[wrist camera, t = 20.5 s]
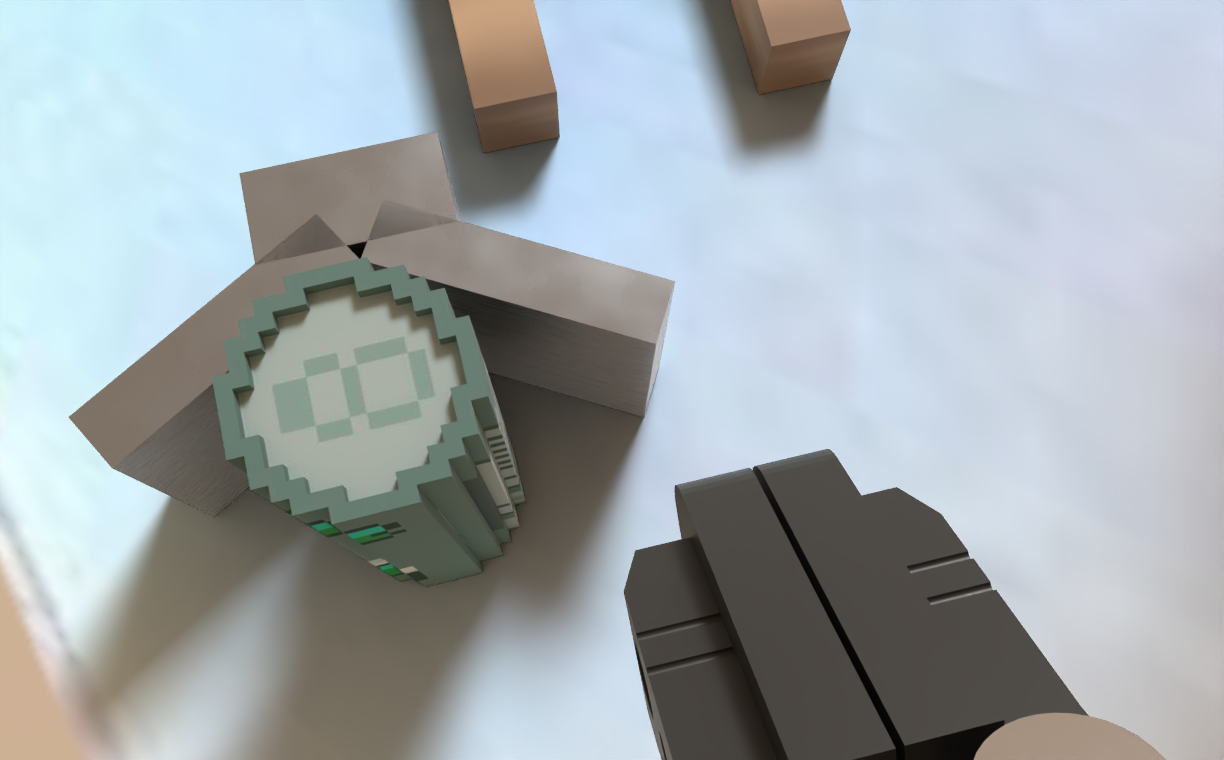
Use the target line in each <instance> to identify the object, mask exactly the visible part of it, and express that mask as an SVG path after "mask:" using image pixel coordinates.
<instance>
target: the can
mask: <svg viewBox="0 0 1224 760" xmlns="http://www.w3.org/2000/svg"><path fill="white" fill-rule="evenodd" d="M283 280H284V285H285V290H286V292H284V293H280V294H276V295H272V296H267V297H263V298H259V299H255V300H252V304H253V309H254V314H255V316H253V317H248V318H244V319H240V320H238V325H239V330H240V335H241V336H239V337H234V338H230V339H226V340H223V341H224V347H225V352H226V358H227V363H228V369H229V373H225V374H221V375H217V376H213V377H212V381H213V387H214V393H215V398H216V404H217V410H218V415H219V421H220V427H221V432H222V438H223V444H224V450H225V455H226V460H227V461H228V462H230V463H231V464H233V465H235V466H236V467H238V468H239V469H241V470H242V471H244V472H245V473H247V475H248V480H249V486H250V490H251V491H253V492H254V493H256V494H258V495H259V496H261V497H262V498H264V499H266V500H267V501H269V502H271V503H272V504H274V505H275V506H277V507H279V508H280V509H282V510H284V511H285V512H287V513H289V514H290V515H292V516H293V517H295V518H297V519H298V520H300V521H302V522H303V523H305V524H307V525H308V526H310V527H312V528H313V529H315V530H316V531H318V532H320V533H321V534H323V535H325V536H326V537H328V538H330V539H331V540H333V541H335V542H336V543H338V544H339V545H341V546H343V547H344V548H346V549H348V550H349V551H351V552H353V553H354V554H356V555H358V556H359V557H361V558H362V559H364V560H366V561H367V562H369V563H371V564H372V565H374V566H376V567H377V568H379V569H381V570H382V571H384V572H385V573H387V574H389V575H390V576H392V577H394V578H395V579H397V580H399V581H400V582H401V581H405V580H409V579H414V580H416V581H417V582H419V583H420V584H422V585H423V586H425V587H429V586H433V585H437V584H440V583H444V582H448V581H452V580H456V579H460V578H464V577H468V576H472V575H476V574H479V573H483V571H482V566H481V562H480V561H483V560H487V559H491V558H495V557H499V556H503V554H502V549H501V545H500V544H503V543H507V542H511V537H510V533H509V530H512V529H516V528H520V525H519V520H518V516H517V512H516V508H515V505H518V504H522V503H526V500H525V496H524V492H523V488H522V484H521V479H520V475H519V471H518V467H517V463H516V459H515V455H514V450H513V447H512V444H511V441H510V438H509V435H508V432H507V429H506V426H505V423H504V420H503V417H502V414H501V411H500V408H499V405H498V401H497V398H496V395H495V392H494V389H493V386H492V383H491V380H490V377H489V374H488V371H487V368H486V365H485V362H484V359H483V356H482V353H481V350H480V347H479V344H478V341H477V338H476V335H475V332H474V329H473V326H472V323H471V320H470V317H469V315H468V316H464V317H459V318H456V317H455V314H454V312H453V309H452V306H451V304H450V301H449V298H448V295H447V293H446V290H445V288H441V289H437V290H433V291H430V289H429V286H428V284H427V282H426V279H425V277H424V276H422V277H418V278H414V279H410V277H409V275H408V272H407V270H406V268H405V266H404V265H399V266H395V267H391V268H387V269H382V270H378V271H374V269H373V267H372V265H371V263H370V261H369V260H368V258H367V257H364V258H360V259H356V260H351V261H347V262H343V263H338V264H334V265H330V266H326V267H321V268H317V269H313V270H308V271H304V272H300V273H296V274H291V275H287V276H283Z"/></svg>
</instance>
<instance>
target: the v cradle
mask: <svg viewBox="0 0 1224 760" xmlns="http://www.w3.org/2000/svg"><path fill="white" fill-rule="evenodd" d="M240 179H241V184H242V190H243V196H244V202H245V208H246V214H247V219H248V225H249V231H250V237H251V243H252V248H253V254H254V260H255V264H254V265H253V266H252V267H251V268H250V269H248V270H247V271H246V272H245V273H243V274H242V275H241V276H240V277H239V278H237V279H236V280H235V281H234V282H233V283H231V284H230V285H229V286H228V287H226V288H225V289H224V290H223V291H222V292H220V293H219V294H218V295H217V296H215V297H214V298H213V299H212V300H211V301H209V302H208V303H207V304H206V305H205V306H203V307H202V308H201V309H200V310H198V311H197V312H196V313H195V314H194V315H192V316H191V317H190V318H189V319H187V320H186V321H185V322H184V323H183V324H181V325H180V326H179V327H178V328H177V329H175V330H174V331H173V332H172V333H170V334H169V335H168V336H167V337H166V338H164V339H163V340H162V341H161V342H159V343H158V344H157V345H156V346H155V347H153V348H152V349H151V350H150V351H149V352H147V353H146V354H145V355H144V356H142V357H141V358H140V359H139V360H138V361H136V362H135V363H134V364H133V365H131V366H130V367H129V368H128V369H127V370H125V371H124V372H123V373H122V374H121V375H119V376H118V377H117V378H116V379H114V380H113V381H112V382H111V383H110V384H108V385H107V386H106V387H105V388H103V389H102V390H101V391H100V392H99V393H97V394H96V395H95V396H94V397H93V398H91V399H90V400H89V401H88V402H86V403H85V404H84V405H83V406H82V407H80V408H79V409H78V410H77V411H76V412H74V413H73V414H72V415H71V416H69V418H70V419H71V421H72V422H73V423H74V424H75V425H76V426H77V428H78V429H79V430H80V431H81V432H82V433H83V435H84V436H85V437H86V438H87V439H88V440H89V442H90V443H91V444H92V445H93V446H94V447H95V449H96V450H97V451H98V452H99V453H100V454H101V456H102V457H103V458H104V459H105V460H106V462H107V463H108V464H109V465H110V466H111V467H112V468H113V469H115V470H117V471H119V472H121V473H123V474H125V475H128V476H130V477H132V478H134V479H136V480H138V481H140V482H142V483H144V484H146V485H148V486H150V487H153V488H155V489H157V490H159V491H161V492H163V493H165V494H167V495H169V496H171V497H173V498H175V499H177V500H180V501H182V502H184V503H186V504H188V505H190V506H192V507H194V508H196V509H198V510H200V511H202V512H204V513H207V514H209V515H211V516H213V517H215V516H216V515H217V514H219V513H220V512H221V511H222V510H223V509H224V508H225V507H227V506H228V505H229V504H230V503H231V502H232V501H234V500H235V499H236V498H237V497H238V496H239V495H240V494H242V493H243V492H244V491H245V490H246V489H247V488H249V487H250V486H249V480H248V475H247V473H245V472H244V471H242V470H241V469H239V468H238V467H236V466H235V465H233V464H231V463H230V462H228V461H227V460H226V455H225V450H224V444H223V438H222V432H221V427H220V421H219V415H218V410H217V404H216V398H215V393H214V387H213V381H212V377H213V376H217V375H221V374H225V373H229V369H228V363H227V358H226V352H225V347H224V341H223V340H226V339H230V338H234V337H239V336H241V335H240V330H239V325H238V320H240V319H244V318H248V317H253V316H255V314H254V309H253V304H252V300H255V299H259V298H263V297H267V296H272V295H276V294H280V293H284V292H286V290H285V285H284V280H283V276H287V275H291V274H296V273H300V272H304V271H308V270H313V269H317V268H321V267H326V266H330V265H334V264H338V263H343V262H347V261H351V260H356V259H360V258H364V257H367V258H368V260H369V261H370V263H371V265H372V267H373V269H374V271H378V270H382V269H387V268H391V267H395V266H399V265H404V266H405V268H406V270H407V272H408V275H409V277H410V279H414V278H418V277H422V276H424V277H425V279H426V282H427V284H428V286H429V289H430V291H433V290H437V289H441V288H445V290H446V293H447V295H448V298H449V301H450V304H451V306H452V309H453V312H454V314H455V317H456V318H459V317H464V316H468V315H469V317H470V320H471V323H472V326H473V329H474V332H475V335H476V338H477V341H478V344H479V347H480V350H481V353H482V356H483V359H484V362H485V365H486V368H487V371H488V372H489V373H492V374H496V375H499V376H503V377H506V378H510V379H513V380H517V381H520V382H523V383H527V384H530V385H534V386H537V387H541V388H544V389H548V390H551V391H555V392H558V393H561V394H565V395H568V396H572V397H575V398H579V399H582V400H586V401H589V402H593V403H596V404H600V405H603V406H606V407H610V408H613V409H617V410H620V411H624V412H627V413H631V414H634V415H638V416H641V417H644V416H645V412H646V409H647V406H648V402H649V399H650V395H651V392H652V389H653V385H654V382H655V379H656V375H657V372H658V368H659V364H660V359H661V353H662V348H663V343H664V337H665V332H666V327H667V321H668V316H669V310H670V305H671V300H672V294H673V289H674V284H675V281H672V280H668V279H665V278H661V277H657V276H654V275H650V274H647V273H643V272H640V271H636V270H633V269H629V268H625V267H622V266H618V265H615V264H611V263H608V262H604V261H601V260H597V259H593V258H590V257H586V256H583V255H579V254H576V253H572V252H569V251H565V250H561V249H558V248H554V247H551V246H547V245H544V244H540V243H537V242H533V241H529V240H526V239H522V238H519V237H515V236H512V235H508V234H505V233H501V232H497V231H494V230H490V229H487V228H483V227H480V226H476V225H473V224H469V223H465V222H462V218H461V214H460V211H459V207H458V204H457V200H456V197H455V193H454V189H453V186H452V182H451V179H450V175H449V172H448V168H447V164H446V161H445V157H444V154H443V150H442V147H441V143H440V139H439V136H438V132H434V133H429V134H424V135H419V136H415V137H410V138H405V139H400V140H396V141H391V142H386V143H381V144H377V145H372V146H367V147H362V148H358V149H353V150H348V151H344V152H339V153H334V154H329V155H325V156H320V157H315V158H310V159H306V160H301V161H296V162H291V163H287V164H282V165H277V166H272V167H268V168H263V169H258V170H253V171H249V172H244V173H240Z"/></svg>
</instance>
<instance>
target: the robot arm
mask: <svg viewBox="0 0 1224 760" xmlns="http://www.w3.org/2000/svg"><path fill="white" fill-rule="evenodd" d="M675 501H676V508H677V514H678V520H679V526H680V532H681V538H682V539H681V540H677V541H673V542H669V543H665V544H660V545H656V546H652V547H648V548H644V549H640V550H636V551H635V554H634V557H633V561H632V564H631V568H630V571H629V575H628V579H627V582H626V586H625V589H624V595H625V600H626V605H627V610H628V615H629V620H630V625H631V630H632V635H633V640H634V645H635V650H636V655H637V660H638V665H639V670H640V675H641V680H642V685H643V690H644V695H645V700H646V705H647V710H648V713H649V717H650V721H651V724H652V728H653V731H654V735H655V739H656V742H657V746H658V749H659V753H660V755H661V759H662V760H1166V759H1165V758H1164V757H1163V756H1162V755H1160V754H1159V753H1158V752H1157V751H1156V750H1155V749H1154V748H1153V747H1152V746H1151V745H1149V744H1148V743H1147V742H1145V741H1144V740H1143V739H1141V738H1140V737H1139V736H1137V735H1135V734H1133V733H1131V732H1130V731H1128V730H1126V729H1124V728H1122V727H1120V726H1117V725H1115V724H1113V723H1110V722H1108V721H1105V720H1101V719H1098V718H1094V717H1090V716H1088V714H1087V713H1086V712H1085V711H1084V710H1083V708H1082V707H1081V706H1080V705H1079V703H1078V702H1077V701H1076V699H1075V698H1074V696H1073V695H1072V694H1071V692H1070V691H1069V690H1068V688H1067V687H1066V685H1065V684H1064V683H1063V681H1062V680H1061V679H1060V677H1059V676H1058V674H1057V673H1056V672H1055V670H1054V669H1053V668H1052V666H1051V665H1050V663H1049V662H1048V661H1047V659H1046V658H1045V656H1044V655H1043V654H1042V652H1041V651H1040V650H1039V648H1038V647H1037V645H1036V644H1035V643H1034V641H1033V640H1032V639H1031V637H1030V636H1029V634H1028V633H1027V632H1026V630H1025V629H1024V628H1023V626H1022V625H1021V623H1020V622H1019V621H1018V619H1017V618H1016V617H1015V615H1014V614H1013V612H1012V611H1011V610H1010V608H1009V607H1008V606H1007V604H1006V603H1005V601H1004V600H1003V599H1002V597H1001V596H1000V595H999V593H998V592H997V590H994V591H993V590H992V587H991V584H990V581H989V579H988V578H987V577H986V575H985V574H984V572H983V571H982V570H981V568H980V567H979V566H978V564H977V563H976V561H975V560H974V559H970V557H969V554H968V550H967V549H966V548H965V546H964V545H963V544H962V542H961V541H960V539H959V538H958V537H957V535H956V534H955V533H954V531H953V530H952V528H951V527H950V526H949V524H948V523H947V521H946V520H945V519H944V517H943V516H942V515H941V514H940V513H939V512H937V511H935V510H934V509H932V508H930V507H929V506H927V505H925V504H924V503H922V502H920V501H919V500H917V499H915V498H914V497H912V496H910V495H909V494H907V493H905V492H904V491H902V490H900V489H899V488H897V487H896V488H892V489H887V490H883V491H879V492H875V493H871V494H867V495H862V496H861V494H860V493H859V491H858V490H857V488H856V487H855V485H854V483H853V482H852V480H851V479H850V477H849V476H848V474H847V472H846V471H845V469H844V468H843V466H842V465H841V463H840V462H839V460H838V458H837V457H836V456H835V454H834V453H833V452H832V451H831V450H829V449H825V450H821V451H817V452H813V453H808V454H804V455H800V456H796V457H792V458H787V459H783V460H779V461H775V462H770V463H766V464H762V465H758V466H754V468H753V471H752V470H751V469H750V468H747V469H742V470H738V471H734V472H730V473H725V474H721V475H717V476H713V477H709V478H704V479H700V480H696V481H692V482H687V483H683V484H679V485H675Z"/></svg>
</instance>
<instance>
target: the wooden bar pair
mask: <svg viewBox="0 0 1224 760" xmlns="http://www.w3.org/2000/svg"><path fill="white" fill-rule="evenodd" d="M448 2H449V7H450V11H451V15H452V20H453V24H454V28H455V32H456V37H457V41H458V45H459V50H460V54H461V58H462V63H463V67H464V71H465V75H466V80H467V84H468V88H469V93H470V97H471V101H472V106H473V110H474V114H475V118H476V123H477V127H478V131H479V136H480V140H481V144H482V149H483V153H487V152H492V151H496V150H501V149H506V148H511V147H515V146H520V145H525V144H529V143H534V142H539V141H543V140H548V139H553V138H557V137H560V135H559V120H558V105H557V91H556V87H555V83H554V79H553V75H552V71H551V67H550V64H549V60H548V56H547V52H546V48H545V44H544V40H543V36H542V32H541V28H540V24H539V20H538V16H537V12H536V8H535V5H534V1H533V0H448ZM730 2H731V5H732V8H733V12H734V15H735V18H736V21H737V25H738V28H739V31H740V35H741V38H742V41H743V44H744V48H745V51H746V54H747V58H748V61H749V64H750V67H751V71H752V74H753V77H754V81H755V84H756V87H757V90H758V94H764V93H769V92H774V91H778V90H783V89H788V88H792V87H797V86H802V85H806V84H811V83H816V82H821V81H825V80H830V79H832V78H833V75H834V73H835V70H836V67H837V65H838V62H839V60H840V57H841V54H842V52H843V49H844V46H845V44H846V41H847V38H848V36H849V33H850V30H851V29H850V26H849V23H848V20H847V17H846V14H845V11H844V8H843V5H842V2H841V0H730Z"/></svg>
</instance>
